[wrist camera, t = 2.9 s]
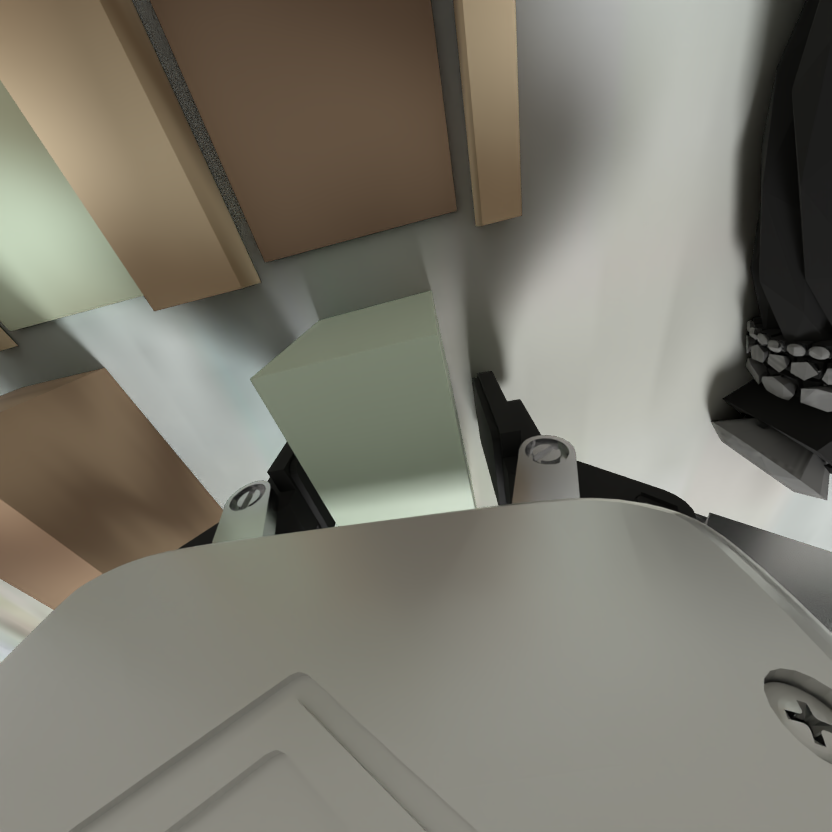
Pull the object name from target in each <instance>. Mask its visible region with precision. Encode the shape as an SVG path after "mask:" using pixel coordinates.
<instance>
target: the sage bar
mask: <svg viewBox="0 0 832 832" xmlns="http://www.w3.org/2000/svg"><path fill="white" fill-rule="evenodd" d="M250 380H251V382H252V384H253V385H254V387H255V389H256V390H257V392H258V394H259V395H260V397H261V399H262V400H263V402H264V404H265V405H266V407H267V409H268V410H269V412H270V414H271V415H272V417H273V419H274V420H275V422H276V424H277V425H278V427H279V429H280V430H281V432H282V434H283V435H284V437H285V439H286V440H287V442H288V444H289V445H290V447H291V449H292V450H293V452H294V454H295V455H296V457H297V459H298V460H299V462H300V464H301V466H302V467H303V469H304V471H305V472H306V474H307V476H308V477H309V479H310V481H311V482H312V484H313V486H314V487H315V489H316V491H317V492H318V494H319V496H320V497H321V499H322V501H323V502H324V504H325V506H326V507H327V509H328V511H329V512H330V514H331V516H332V517H333V519H334V521H335V522H336V524H337V526H345V525H353V524H360V523H368V522H375V521H383V520H390V519H398V518H406V517H413V516H421V515H428V514H436V513H444V512H452V511H460V510H467V509H475V508H476V502H475V497H474V492H473V487H472V482H471V477H470V472H469V467H468V463H467V458H466V453H465V448H464V444H463V439H462V434H461V429H460V425H459V420H458V415H457V410H456V406H455V401H454V396H453V391H452V386H451V382H450V377H449V372H448V367H447V363H446V358H445V353H444V348H443V344H442V339H441V334H440V329H439V325H438V320H437V315H436V310H435V306H434V301H433V296H432V291H427V292H424V293H420V294H416V295H412V296H408V297H405V298H401V299H397V300H393V301H390V302H386V303H382V304H378V305H375V306H371V307H367V308H363V309H360V310H356V311H352V312H348V313H345V314H341V315H337V316H333V317H330V318H326V319H322V320H319V321H318V322H317V323H316V324H314V325H313V326H312V327H311V328H310V329H308V330H307V331H306V332H305V333H304V334H303V335H301V336H300V337H299V338H298V339H297V340H295V341H294V342H293V343H292V344H291V345H290V346H288V347H287V348H286V349H285V350H284V351H283V352H281V353H280V354H279V355H278V356H277V357H275V358H274V359H273V360H272V361H271V362H270V363H268V364H267V365H266V366H265V367H264V368H262V369H261V370H260V371H259V372H258V373H257V374H255V375H254V376H253V377H252V378H251V379H250Z"/></svg>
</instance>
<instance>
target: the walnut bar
mask: <svg viewBox="0 0 832 832" xmlns="http://www.w3.org/2000/svg"><path fill="white" fill-rule="evenodd" d="M222 512H223V509H222V508H221V507H220V506H219V505H218V503H217V502H216V501H215V500H214V499H213V497H212V496H211V495H210V494H209V493H208V491H207V490H206V489H205V488H204V487H203V485H202V484H201V483H200V482H199V481H198V479H197V478H196V477H195V476H194V475H193V473H192V472H191V471H190V470H189V469H188V467H187V466H186V465H185V464H184V463H183V461H182V460H181V459H180V458H179V456H178V455H177V454H176V453H175V452H174V450H173V449H172V448H171V447H170V446H169V444H168V443H167V442H166V441H165V440H164V438H163V437H162V436H161V435H160V434H159V432H158V431H157V430H156V429H155V428H154V426H153V425H152V424H151V423H150V422H149V420H148V419H147V418H146V417H145V416H144V414H143V413H142V412H141V411H140V410H139V408H138V407H137V406H136V405H135V404H134V402H133V401H132V400H131V399H130V398H129V396H128V395H127V394H126V393H125V391H124V390H123V389H122V388H121V387H120V385H119V384H118V383H117V382H116V381H115V379H114V378H113V377H112V376H111V375H110V373H109V372H108V371H107V370H106V369H105V368H102V369H98V370H93V371H89V372H85V373H81V374H77V375H72V376H68V377H64V378H60V379H56V380H51V381H47V382H43V383H39V384H34V385H30V386H26V387H22V388H20V389H17V390H14V391H12V392H9V393H7V394H4V395H1V396H0V579H2V580H4V581H5V582H7V583H9V584H10V585H12V586H14V587H16V588H17V589H19V590H21V591H22V592H24V593H26V594H28V595H29V596H31V597H33V598H34V599H36V600H38V601H40V602H41V603H43V604H45V605H46V606H48V607H50V608H52V609H53V610H54V609H56V608H57V607H58V606H59V605H60V604H61V603H62V602H63V601H64V600H65V599H66V598H67V597H69V596H70V595H71V594H72V593H73V592H74V591H76V590H77V589H78V588H80V587H81V586H83V585H84V584H86V583H87V582H89V581H91V580H93V579H95V578H96V577H98V576H100V575H102V574H104V573H106V572H108V571H110V570H112V569H115V568H117V567H119V566H121V565H124V564H126V563H129V562H132V561H135V560H138V559H141V558H143V557H146V556H150V555H154V554H158V553H162V552H166V551H171V550H177V549H178V548H180V547H181V546H183V545H185V544H186V543H188V542H189V541H191V540H192V539H194V538H195V537H197V536H198V535H200V534H201V533H203V532H205V531H206V530H208V529H209V528H211V527H212V526H214V525H215V524H217V523H218V522H219V521H220V518H221V515H222Z"/></svg>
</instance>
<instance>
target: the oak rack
mask: <svg viewBox="0 0 832 832" xmlns="http://www.w3.org/2000/svg"><path fill="white" fill-rule="evenodd" d="M150 2H151V4H152V6H153V9H154V11H155V13H156V15H157V18H158V20H159V22H160V25H161V27H162V29H163V31H164V34H165V36H166V38H167V40H168V43H169V45H170V47H171V50H172V52H173V54H174V56H175V59H176V61H177V63H178V66H179V68H180V70H181V72H182V75H183V77H184V79H185V82H186V84H187V86H188V88H189V91H190V93H191V95H192V97H193V100H194V102H195V104H196V107H197V109H198V111H199V113H200V116H201V118H202V120H203V123H204V125H205V127H206V129H207V132H208V134H209V136H210V138H211V141H212V143H213V145H214V148H215V150H216V152H217V154H218V157H219V159H220V161H221V164H222V166H223V168H224V170H225V173H226V175H227V177H228V180H229V182H230V184H231V186H232V189H233V191H234V193H235V195H236V198H237V200H238V202H239V205H240V207H241V209H242V211H243V214H244V216H245V218H246V221H247V223H248V225H249V227H250V230H251V232H252V234H253V236H254V239H255V241H256V243H257V246H258V248H259V250H260V252H261V255H262V257H263V259H264V262H269V261H273V260H277V259H281V258H284V257H288V256H292V255H295V254H299V253H303V252H306V251H310V250H314V249H318V248H321V247H325V246H329V245H332V244H336V243H340V242H344V241H347V240H351V239H355V238H358V237H362V236H366V235H369V234H373V233H377V232H381V231H384V230H388V229H392V228H395V227H399V226H403V225H406V224H410V223H414V222H418V221H421V220H425V219H429V218H432V217H436V216H440V215H444V214H447V213H451V212H455V211H457V206H456V198H455V190H454V182H453V174H452V166H451V158H450V150H449V142H448V134H447V126H446V118H445V110H444V102H443V94H442V86H441V78H440V70H439V62H438V54H437V46H436V38H435V30H434V22H433V14H432V6H431V0H150ZM453 4H454V14H455V24H456V34H457V44H458V54H459V64H460V74H461V84H462V94H463V104H464V114H465V124H466V134H467V144H468V154H469V164H470V174H471V184H472V194H473V204H474V214H475V224H476V226H484V225H488V224H491V223H495V222H499V221H503V220H507V219H511V218H514V217H518V216H522V201H521V168H520V135H519V102H518V69H517V37H516V4H515V0H453ZM258 283H261V281H260V279H259V277H258V274H257V272H256V270H255V268H254V266H253V264H252V261H251V259H250V257H249V255H248V253H247V250H246V248H245V246H244V244H243V242H242V240H241V237H240V235H239V233H238V231H237V229H236V227H235V224H234V222H233V220H232V218H231V216H230V213H229V211H228V209H227V207H226V205H225V203H224V200H223V198H222V196H221V194H220V192H219V189H218V187H217V185H216V183H215V181H214V179H213V176H212V174H211V172H210V170H209V168H208V166H207V163H206V161H205V159H204V157H203V155H202V152H201V150H200V148H199V146H198V144H197V142H196V139H195V137H194V135H193V133H192V131H191V129H190V126H189V124H188V122H187V120H186V118H185V115H184V113H183V111H182V109H181V107H180V105H179V102H178V100H177V98H176V96H175V94H174V91H173V89H172V87H171V85H170V83H169V81H168V78H167V76H166V74H165V72H164V70H163V68H162V65H161V63H160V61H159V59H158V57H157V54H156V52H155V50H154V48H153V46H152V44H151V41H150V39H149V37H148V35H147V33H146V31H145V28H144V26H143V24H142V22H141V20H140V17H139V15H138V13H137V11H136V9H135V7H134V4H133V2H132V0H0V321H1V322H2V323H3V325H4V326H5V327H6V328H7V329H8V330H9V331H14V330H18V329H21V328H25V327H29V326H32V325H36V324H40V323H43V322H47V321H51V320H55V319H58V318H62V317H66V316H69V315H73V314H77V313H81V312H84V311H88V310H92V309H95V308H99V307H103V306H106V305H110V304H114V303H118V302H121V301H125V300H129V299H132V298H136V297H140V296H144V297H145V298H146V300H147V301H148V303H149V304H150V306H151V307H152V309H153V310H154V311H157V310H161V309H165V308H169V307H172V306H176V305H180V304H184V303H188V302H192V301H195V300H199V299H203V298H207V297H211V296H215V295H218V294H222V293H226V292H230V291H234V290H238V289H242V288H245V287H248V286H251V285H255V284H258ZM16 346H18V345H17V344H16V343H15V342H14V341H13V340H12V339H11V338H10V337H9V336H8V335H7V334H6V333H5V332H4V331H3V329H2V328H1V327H0V351H1V350H5V349H9V348H12V347H16Z"/></svg>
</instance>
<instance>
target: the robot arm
mask: <svg viewBox="0 0 832 832" xmlns="http://www.w3.org/2000/svg"><path fill="white" fill-rule="evenodd" d="M472 381H473V389H474V396H475V404H476V411H477V418H478V426H479V433H480V439H481V443H482V447H483V451H484V454H485V458H486V462H487V465H488V469H489V473H490V476H491V480H492V484H493V487H494V491H495V495H496V498H497V502H498V505H499V506H491V507H483V508H475V509H467V510H460V511H452V512H444V513H436V514H428V515H421V516H413V517H406V518H398V519H390V520H383V521H375V522H368V523H360V524H353V525H345V526H338V527H335V523H336V522H335V521H334V519H333V517H332V516H331V514H330V512H329V511H328V509H327V507H326V506H325V504H324V502H323V501H322V499H321V497H320V496H319V494H318V492H317V491H316V489H315V487H314V486H313V484H312V482H311V481H310V479H309V477H308V476H307V474H306V472H305V471H304V469H303V467H302V466H301V464H300V462H299V460H298V459H297V457H296V455H295V454H294V452H293V450H292V449H291V447H290V445H289V444H288V442H286V444H285V445H284V447H283V449H282V450H281V452H280V453H279V455H278V456H277V458H276V459H275V461H274V462H273V464H272V465H271V467H270V468H269V470H268V472H267V473H268V474H269V476H270V478H269V480H268V481H264V480H262V481H255V482H252V483H250V484H247V485H245V486H243V487H242V488H240V489H239V490H237V491H236V492H235V493H234V494H233V495H232V496H231V497H230V498H229V499H228V500H227V502H226V504H225V506H224V509H223V512H222V515H221V518H220V521H219V522H218V523H217V524H215V525H214V526H212V527H211V528H209V529H208V530H206V531H205V532H203V533H201V534H200V535H198V536H197V537H195V538H194V539H192V540H191V541H189V542H188V543H186V544H185V545H183V546H181V547H180V548H178V549H177V550H171V551H166V552H162V553H158V554H154V555H150V556H146V557H143V558H141V559H138V560H135V561H132V562H129V563H126V564H124V565H121V566H119V567H117V568H115V569H112V570H110V571H108V572H106V573H104V574H102V575H100V576H98V577H96V578H95V579H93V580H91V581H89V582H87V583H86V584H84V585H83V586H81V587H80V588H78V589H77V590H76V591H74V592H73V593H72V594H71V595H70V596H69V597H67V598H66V599H65V600H64V601H63V602H62V603H61V604H60V605H59V606H58V607H57V608H56V609H54V610H53V611H52V612H51V613H50V614H49V615H48V616H47V617H46V618H45V619H44V620H43V621H42V622H41V623H40V624H39V625H38V626H37V627H36V628H35V629H34V630H33V631H32V632H31V633H30V634H29V635H28V636H27V637H26V638H25V639H24V640H23V641H22V642H21V643H20V644H19V645H18V646H17V647H16V648H15V649H14V650H13V651H12V652H11V653H10V654H9V655H8V656H7V657H6V658H5V659H4V660H3V661H2V662H1V663H0V832H832V552H830V551H827V550H824V549H821V548H817V547H814V546H811V545H808V544H805V543H802V542H799V541H796V540H793V539H790V538H787V537H783V536H780V535H777V534H774V533H771V532H768V531H765V530H762V529H759V528H756V527H753V526H749V525H746V524H743V523H740V522H737V521H734V520H731V519H728V518H725V517H722V516H719V515H715V514H712V513H709V515H708V517H705V516H702V515H699V514H696V513H694V511H693V509H692V508H691V507H690V506H689V505H688V504H687V503H686V502H685V501H684V500H682V499H681V498H679V497H678V496H676V495H674V494H672V493H670V492H667V491H665V490H663V489H660V488H657V487H654V486H651V485H648V484H645V483H642V482H639V481H636V480H633V479H630V478H627V477H624V476H621V475H618V474H615V473H612V472H609V471H606V470H603V469H600V468H597V467H594V466H591V465H588V464H585V463H582V462H579V461H576V452H575V449H574V447H573V446H572V445H571V443H570V442H568V441H566V440H565V439H563V438H560V437H557V436H551V435H541V434H540V432H539V431H538V429H537V427H536V425H535V424H534V422H533V420H532V419H531V417H530V415H529V413H528V412H527V410H526V408H525V406H524V405H523V403H522V401H521V400H519V399H518V400H513V401H507V400H506V398H505V396H504V394H503V392H502V390H501V388H500V386H499V384H498V382H497V380H496V378H495V376H494V374H493V372H492V371H488V372H483V373H478V374H477V378H472Z"/></svg>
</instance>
